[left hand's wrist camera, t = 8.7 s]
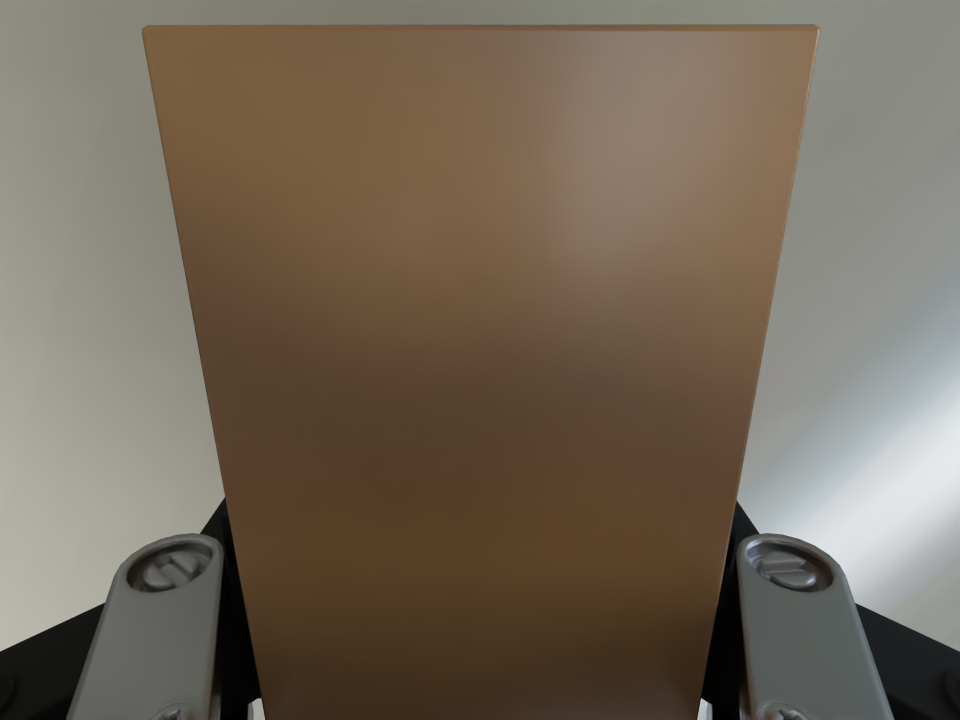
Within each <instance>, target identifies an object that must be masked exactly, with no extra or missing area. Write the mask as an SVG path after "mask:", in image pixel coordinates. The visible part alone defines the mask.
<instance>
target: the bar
mask: <svg viewBox="0 0 960 720" xmlns="http://www.w3.org/2000/svg"><path fill="white" fill-rule="evenodd" d="M142 36H143V41H144V47H145V53H146V58H147V64H148V69H149V75H150V80H151V86H152V92H153V97H154V103H155V108H156V114H157V119H158V125H159V131H160V136H161V142H162V147H163V153H164V158H165V164H166V169H167V175H168V181H169V186H170V192H171V197H172V203H173V208H174V214H175V220H176V225H177V231H178V236H179V242H180V247H181V253H182V259H183V264H184V270H185V275H186V281H187V286H188V292H189V298H190V303H191V309H192V314H193V320H194V325H195V331H196V336H197V342H198V348H199V353H200V359H201V364H202V370H203V375H204V381H205V387H206V392H207V398H208V403H209V409H210V414H211V420H212V426H213V431H214V437H215V442H216V448H217V453H218V459H219V465H220V470H221V476H222V481H223V487H224V492H225V498H226V504H227V509H228V515H229V520H230V526H231V531H232V537H233V542H234V548H235V554H236V559H237V565H238V570H239V576H240V581H241V587H242V593H243V598H244V604H245V609H246V615H247V620H248V626H249V632H250V637H251V643H252V648H253V654H254V659H255V665H256V671H257V676H258V682H259V687H260V693H261V698H262V704H263V709H264V715H265V720H697V717H698V711H699V706H700V700H701V695H702V689H703V683H704V678H705V672H706V667H707V661H708V656H709V650H710V644H711V639H712V633H713V628H714V622H715V617H716V611H717V605H718V600H719V594H720V589H721V583H722V577H723V572H724V566H725V561H726V555H727V550H728V544H729V538H730V533H731V527H732V522H733V516H734V510H735V505H736V499H737V494H738V488H739V483H740V477H741V471H742V466H743V460H744V455H745V449H746V443H747V438H748V432H749V427H750V421H751V416H752V410H753V404H754V399H755V393H756V388H757V382H758V377H759V371H760V365H761V360H762V354H763V349H764V343H765V337H766V332H767V326H768V321H769V315H770V310H771V304H772V298H773V293H774V287H775V282H776V276H777V270H778V265H779V259H780V254H781V248H782V243H783V237H784V231H785V226H786V220H787V215H788V209H789V203H790V198H791V192H792V187H793V181H794V176H795V170H796V164H797V159H798V153H799V148H800V142H801V137H802V131H803V125H804V120H805V114H806V109H807V103H808V97H809V92H810V86H811V81H812V75H813V70H814V64H815V58H816V53H817V47H818V42H819V36H820V27H818V26H816V25H148V26H146V27H144V28H142Z"/></svg>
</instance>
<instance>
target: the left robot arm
mask: <svg viewBox="0 0 960 720" xmlns="http://www.w3.org/2000/svg"><path fill="white" fill-rule="evenodd" d="M257 698H261V693H260V687H259V682H258V676H257V671H256V665H255V659H254V654H253V648H252V643H251V637H250V632H249V626H248V620H247V615H246V609H245V604H244V598H243V593H242V587H241V581H240V576H239V570H238V565H237V559H236V554H235V548H234V542H233V537H232V531H231V526H230V520H229V515H228V509H227V504H226V498H224V499H223V501H222V502H221V504H220V505H219V507H218V508H217V510H216V511H215V512H214V514H213V515H212V517H211V518H210V520H209V521H208V523H207V524H206V526H205V527H204V528H203V530H202V531H201V533H200V534H195V533H190V534H180V535H174V536H170V537H167V538H163V539H160V540H157V541H155V542H153V543H150V544H148V545H146V546H144V547H142V548H141V549H139V550H138V551H136V552H135V553H133V554H131V555H130V556H129V557H128V558H127V559H126V560H125V561H124V562H123V563H122V564H121V565H120V567H119V569H118V570H117V572H116V574H115V575H114V578H113V581H112V584H111V587H110V590H109V593H108V596H107V599H106V602H105V603H103V604H101V605H99V606H97V607H95V608H93V609H90V610H88V611H86V612H84V613H82V614H80V615H78V616H75V617H73V618H71V619H69V620H67V621H65V622H63V623H60V624H58V625H56V626H54V627H52V628H50V629H48V630H45V631H43V632H41V633H39V634H37V635H35V636H33V637H30V638H28V639H26V640H24V641H22V642H20V643H18V644H16V645H13V646H11V647H9V648H7V649H5V650H3V651H1V652H0V720H253V715H254V711H253V706H252V702H253V701H254V700H256V699H257ZM701 698H702V699H704V700H705V701H707V702H708V706H707V711H706V715H707V720H960V652H959V651H957V650H955V649H953V648H951V647H948V646H946V645H944V644H942V643H940V642H938V641H936V640H933V639H931V638H929V637H927V636H925V635H923V634H921V633H918V632H916V631H914V630H912V629H910V628H908V627H906V626H903V625H901V624H899V623H897V622H895V621H893V620H891V619H888V618H886V617H884V616H882V615H880V614H878V613H876V612H873V611H871V610H869V609H867V608H865V607H863V606H861V605H858V604H856V603H855V602H854V599H853V596H852V593H851V590H850V587H849V584H848V581H847V578H846V575H845V574H844V572H843V570H842V569H841V567H840V565H839V564H838V563H837V562H836V561H835V560H834V559H833V558H832V557H831V556H830V555H829V554H827V553H825V552H824V551H822V550H821V549H819V548H818V547H816V546H814V545H812V544H810V543H807V542H805V541H803V540H800V539H797V538H793V537H790V536H786V535H780V534H770V533H765V534H759V532H758V531H757V529H756V528H755V526H754V525H753V524H752V522H751V521H750V519H749V518H748V516H747V515H746V513H745V512H744V510H743V509H742V508H741V506H740V505H739V503H738V502H737V500H736V505H735V510H734V516H733V522H732V527H731V533H730V538H729V544H728V550H727V555H726V561H725V566H724V572H723V577H722V583H721V589H720V594H719V600H718V605H717V611H716V617H715V622H714V628H713V633H712V639H711V644H710V650H709V656H708V661H707V667H706V672H705V678H704V683H703V689H702V695H701Z"/></svg>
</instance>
